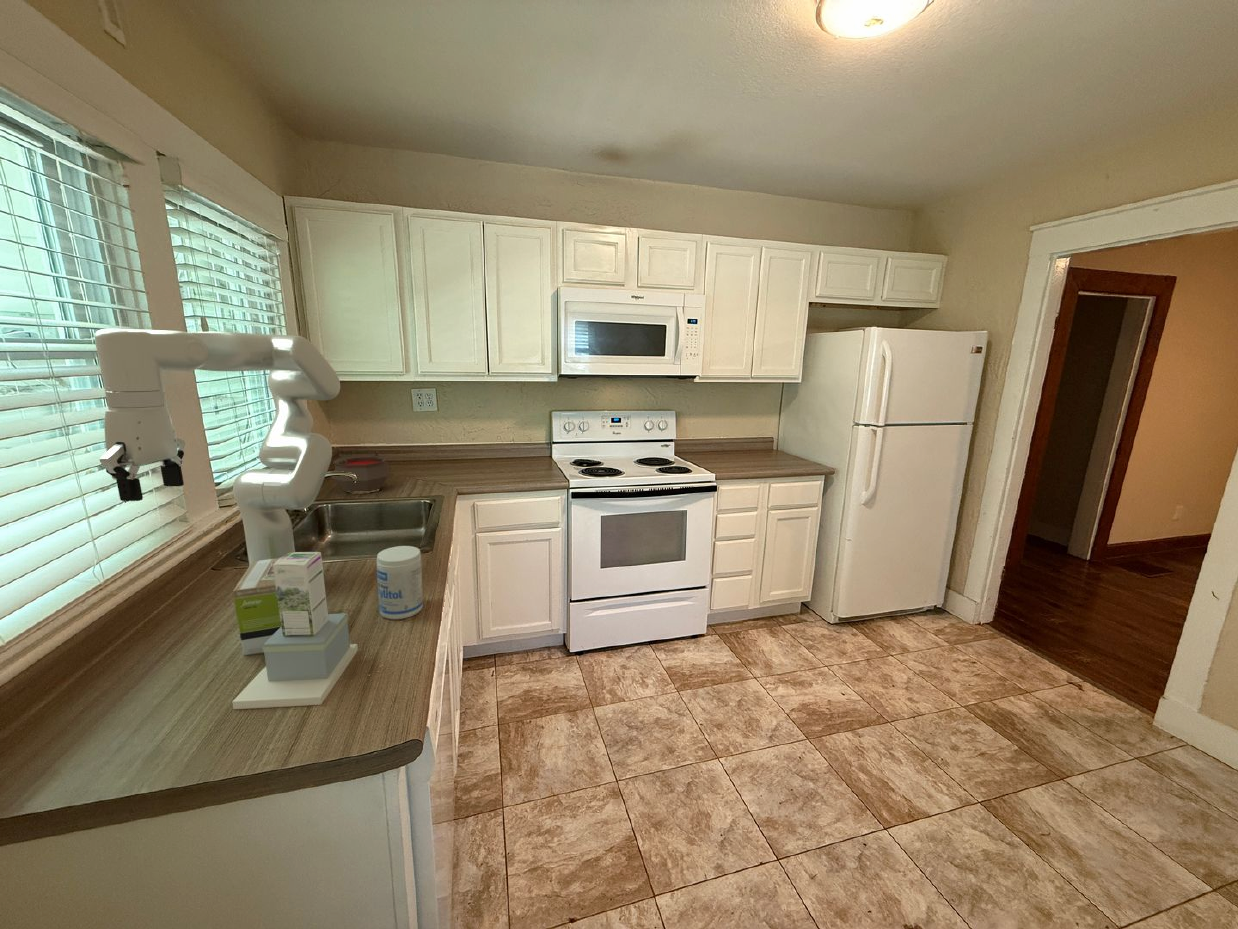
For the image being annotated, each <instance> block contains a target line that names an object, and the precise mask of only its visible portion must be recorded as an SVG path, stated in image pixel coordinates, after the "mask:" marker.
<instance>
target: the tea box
mask: <svg viewBox="0 0 1238 929" xmlns="http://www.w3.org/2000/svg"><path fill="white" fill-rule="evenodd" d="M278 559H280V558H276V559H268V560H260V561H253V562H252V564H251V565H250V566H248V568H247V569H246V570H245V572H244V574H243V575H242V577H241V578H240V579H239V581H238V583H236V585H235V587H234V589H233V590H232V599H233V604H234V610H235V616H236V622H237V626H238V627H237V628H238V633H239V638H240V644H241V650H242V654H243V656H251V655H256V654H264V652H263V648H262V647H263V644H264V643H265V642H266V641H267V640H268V639H269V638H270V637H271V636H272V635H273V634H274V633H275V632H276V631H277V630H278V629H279V628H280V627H281V620H280V613H279V606H278V599H277V591H276V584H275V577H274V571H273V564H274V563H275V562H276V561H277V560H278Z"/></svg>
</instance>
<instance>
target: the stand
mask: <svg viewBox="0 0 1238 929" xmlns="http://www.w3.org/2000/svg"><path fill="white" fill-rule="evenodd" d="M328 617H329V621H328V622H327V623H326V624H325V625H324V626H323V627H322V628H321V629H320V631H319V632H317V633H316V634H315V635H314V636H283V634H282V627H280V628H279V629H278V630H277V631H276V632H275V633H274V634H273V635H272V636H271V637H270V638H269V639H268V640H267V641H266V642H265V643H264V644H263V647H262V648H263V654H264V661H265V666H264V668H262V670H261V671H260V672H259V673H257V675H255V677H254V678H253V679H252V680H251V681H250V682H249V683H248V684H247V685H246V687H245V688H244V689H243V690H242V691H241V692H239V694H238V695H237V696H236V697H235V698H234V699H233V700H232V703H231V704H232V708H233V710H245V709H247V710H248V709H262V708H263V709H264V708H265V709H266V708H267V709H268V708H284V707H301V706H302V707H305V706H319V705H320V706H321V705H322V704H323V703H324V701H325V700H326V698H327V697H328V695H330V692H331V691H332V689H333V688H334V686H335V685H336V683H337V682H338V680H339V679H340V678H341V677H342V674H343V673H344V672H345V670H346V669H347V667H349V664H350V662H351V661H352V660H353V658H354V657H355V656H356V654H357V652H358V649H359V647H358V644H357V643H350V634H349V631H350V630H349V625H348V624H349V623H348V621H349V616H348V613H328Z"/></svg>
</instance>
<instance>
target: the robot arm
mask: <svg viewBox="0 0 1238 929" xmlns="http://www.w3.org/2000/svg"><path fill="white" fill-rule="evenodd" d="M94 341H95V347H96V348H95V349H96V353H97V357H98V362H99V368H100V373H101V378H102V383H103V384H102V385H103V388H104V393H105V397H106V398H105V399H106V404H107V409H108V410H105V413H104V440H105V442H104V443H105V449H106V452H105V454H103V455H102V456H101V457H99V462H100V463H101V465H102V466H103V468H104V469H105V472H106V473H107V474H108V475H110V476H111V478H112V480H114V481H116V485H117V491H118V496H119V500H120V501H121V502H140V501H143V499H144V496H143V491H142V486H141V480H140V478H139V477H138V478H137V477H136V476H137V474H138V472H139V470H140V467H144V466H148V465H153V464H156V463H159V462H160V463H161V464H162V465H161V466H160V471H161V477H162V483H163V486H164V487H182V486H184V484H185V482H184V477H183V471H182V465H183V464H184V462H183V458H184V456H185V445H186V441H185V440H183V439H181V438H179V437H177V436H176V435H177V434H176V432H175V427H174V424H173V419H172V417H171V414H170V411H169V409H168V406H167V400H166V395H165V390H164V384H163V379H162V378H163V377H162V371H164V372H165V371H167V372H190V371H195V370H198V371H210V372H251V371H253V372H256V371H257V372H258V371H260V372H261V371H270V372H269V374H268V377H267V384H268V389H269V392H270V394H271V397H272V399H273V402H274V406H275V416H274V419H273V421H272V423H271V425H270V427H269V429H268V431H267V433H266V436H265V437H264V439H263V441H262V443H261V446H260V449H259V452H258V460H259V462H260V463H261V464H262V465H263V466H265V467H268V468H255V469H254V468H253V469H248V470H246V471H243V472H242V473H240V474H238V475H237V476H236V478H235V479H234V481H233V485H232V492H233V497H234V500H235V502H236V505H237V507H238V509H239V512H240V515H241V518H242V525H243V530H244V537H245V543H246V544H245V545H246V551H247V552H246V553H247V558H248V563H249V566H250V565H251V564H252V562H253V561H260V560H268V559H276V558H281V557H282V556H284V555H286V554H288V553H290V552H296V548H295V541H294V533H293V531H294V530H293V523H292V520H291V517H290V516H289V514H288V512H287V510H304V509H307V508H309V507H311V506H312V504H313V503H314V502H315V500H316V499H317V496H318V495H319V493H320V490H321V488H322V485H323V483H324V480H325V477H326V475H327V473H328V471H329V468H330V465H331V461H332V459H333V458H332V457H333V448H332V444H331V442H330V441H329V439H328V438H327V437H325V436H324V435H323V434H320V433H315V432H311V431H312V430H313V426H314V419H313V416H312V413H311V412H310V411H309V409H308V408H307V406H306V405H305V403H304V402H305V401H329V400H333V399H334V398H336V397H337V396H338V395H339V393H340V390H341V382H340V379H339V375H338V374H337V372H336V371H335V369H334V368H333V367H332V366H331V364H330V363H329V361H328V360H327V359H326V358H325V356H324V355H323V354H322V352H320V350H318V348H317V347H316V346H315V345H314V344H313V343H312V342H311V341H310V340H308V339H307V338H305V337H304V336H301V335H293V334H289V335H288V334H269V333H268V334H266V333H250V332H249V333H248V332H234V331H214V330H213V331H196V332H195V331H192V332H191V331H187V332H186V331H181V330H163V329H125V328H124V329H123V328H122V329H121V328H103V329H102V328H101V329H99V330H97V331H96V332H95V334H94ZM303 400H305V401H303ZM127 468H128V470H127ZM249 566H248V567H249Z"/></svg>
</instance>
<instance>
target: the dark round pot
mask: <svg viewBox="0 0 1238 929" xmlns="http://www.w3.org/2000/svg"><path fill="white" fill-rule="evenodd" d="M379 454H380V451H378V449H374V451H373V454H371V455H370V454H368V455H367V454H364V455H363V454H361V455H360V454H358V455H352V456H350V455H349V456H345V457H341V458H340V457H339V458H337V459H336V460H334V461H332V464H333V465H334V469H333V472H334V471H344V472H352V473H355V474H356V475H357V481H356V483H354V482H353V480H352V479H351V478H350V477H348V476H344V475H340V476H332V475H331V477H330V478H331V480H332V481H333V482H335V483H336V485H338V487H339V488H340V489H342V491H343V492H345V491H350V492H354V491H372V490H377V489H380V488H381V487H382V488H383V487H384V485H385V483H386V482H387V480H388V479H389V477H390V476H391V474H392V472H393V470H392V469H391V467H390V466H389V463H388V462H387V460H388V459H389V457H388V456H385V455H384V456H382V455H379ZM382 488H381V489H382ZM381 489H380V490H381Z"/></svg>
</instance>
